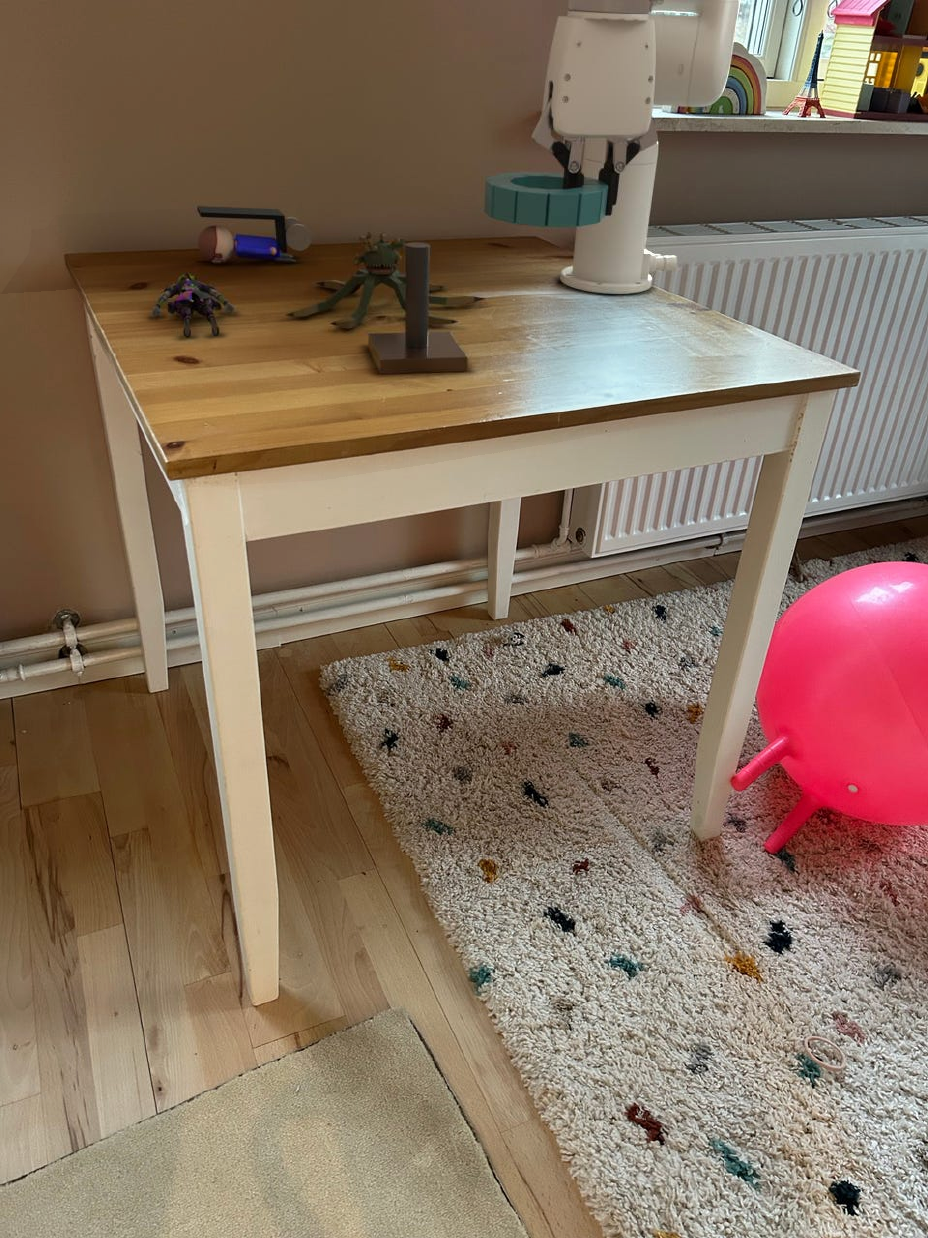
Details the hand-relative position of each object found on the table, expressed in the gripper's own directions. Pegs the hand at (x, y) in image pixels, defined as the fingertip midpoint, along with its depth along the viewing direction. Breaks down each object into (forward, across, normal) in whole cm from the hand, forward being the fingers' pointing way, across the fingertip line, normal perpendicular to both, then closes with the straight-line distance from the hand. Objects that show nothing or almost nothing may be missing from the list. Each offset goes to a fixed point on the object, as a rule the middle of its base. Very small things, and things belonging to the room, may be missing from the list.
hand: (587, 211), depth 98 cm
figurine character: (+15, +33, -43) cm, 57 cm away
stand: (+14, +18, +2) cm, 23 cm away
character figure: (+14, +41, -16) cm, 46 cm away
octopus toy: (+15, +18, -18) cm, 30 cm away
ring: (0, +5, 0) cm, 5 cm away
